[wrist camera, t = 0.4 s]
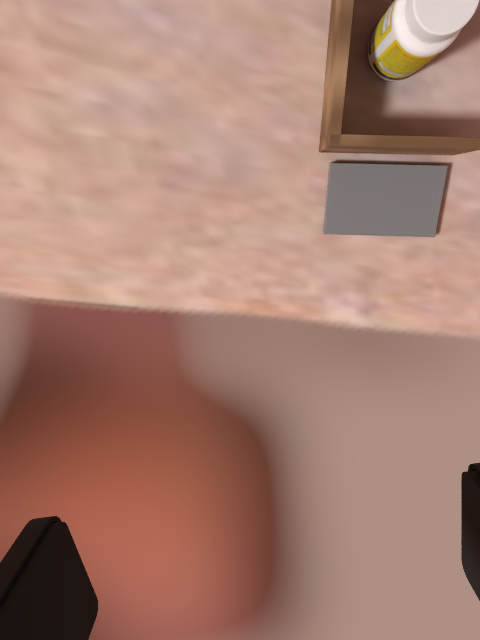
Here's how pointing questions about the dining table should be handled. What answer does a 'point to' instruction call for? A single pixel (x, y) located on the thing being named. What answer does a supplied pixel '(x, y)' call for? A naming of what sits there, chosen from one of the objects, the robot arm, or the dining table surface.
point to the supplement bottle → (415, 34)
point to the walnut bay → (335, 103)
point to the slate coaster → (383, 199)
